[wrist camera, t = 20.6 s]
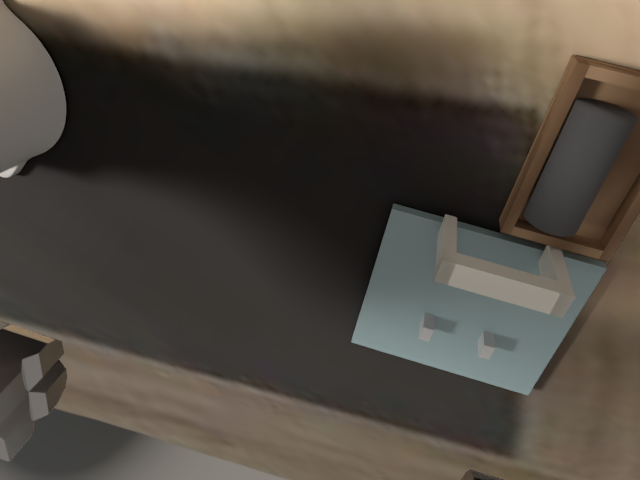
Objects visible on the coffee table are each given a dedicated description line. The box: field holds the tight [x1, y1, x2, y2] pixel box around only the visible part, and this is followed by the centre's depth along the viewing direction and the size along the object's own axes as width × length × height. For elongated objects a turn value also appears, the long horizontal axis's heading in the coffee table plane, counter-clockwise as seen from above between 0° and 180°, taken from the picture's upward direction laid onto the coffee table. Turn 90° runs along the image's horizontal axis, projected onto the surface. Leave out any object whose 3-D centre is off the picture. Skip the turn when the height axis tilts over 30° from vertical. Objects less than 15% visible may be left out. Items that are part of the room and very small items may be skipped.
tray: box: [499, 55, 640, 262], centre depth 39 cm, size 9×14×2 cm, turn 169°
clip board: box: [351, 203, 607, 395], centre depth 48 cm, size 18×16×3 cm
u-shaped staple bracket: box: [434, 214, 575, 318], centre depth 41 cm, size 10×2×7 cm, turn 79°
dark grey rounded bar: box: [524, 98, 638, 237], centre depth 38 cm, size 4×9×4 cm
